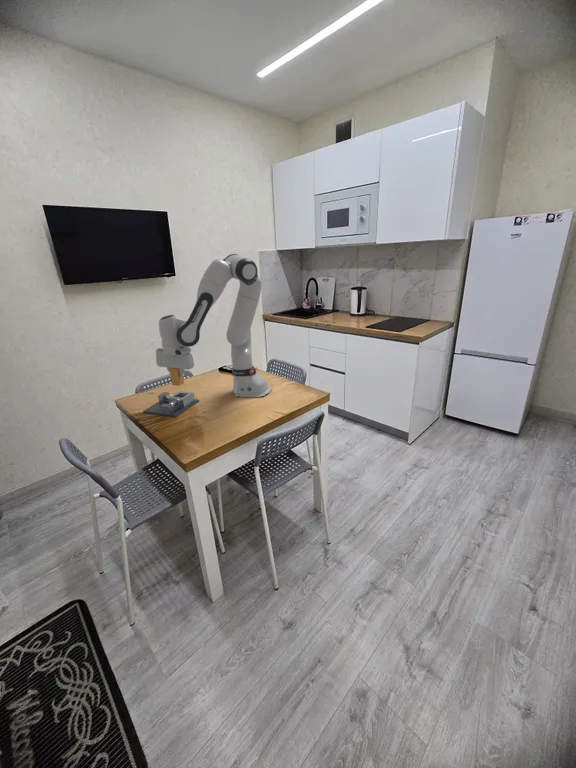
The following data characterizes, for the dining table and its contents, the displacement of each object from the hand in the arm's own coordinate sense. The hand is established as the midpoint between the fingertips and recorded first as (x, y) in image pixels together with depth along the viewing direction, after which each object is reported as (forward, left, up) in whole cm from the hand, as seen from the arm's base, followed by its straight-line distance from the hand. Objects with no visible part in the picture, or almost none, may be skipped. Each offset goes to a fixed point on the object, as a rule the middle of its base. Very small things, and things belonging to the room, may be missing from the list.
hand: (176, 375), depth 159 cm
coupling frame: (+4, +3, -16) cm, 17 cm away
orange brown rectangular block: (0, 0, -5) cm, 4 cm away
